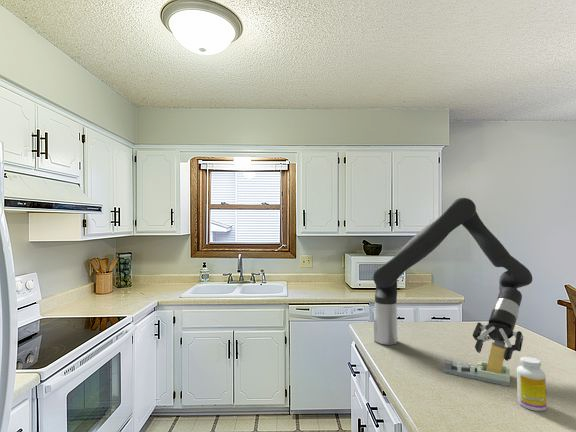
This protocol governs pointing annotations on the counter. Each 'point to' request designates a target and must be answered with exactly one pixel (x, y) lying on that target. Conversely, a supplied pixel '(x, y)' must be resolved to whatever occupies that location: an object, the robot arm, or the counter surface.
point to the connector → (496, 356)
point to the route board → (478, 372)
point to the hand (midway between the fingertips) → (491, 355)
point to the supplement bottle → (531, 384)
